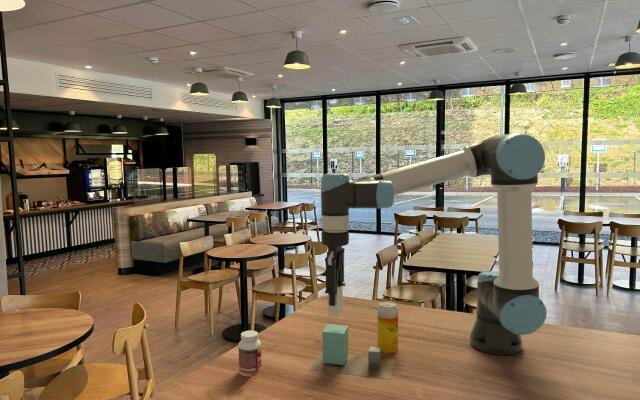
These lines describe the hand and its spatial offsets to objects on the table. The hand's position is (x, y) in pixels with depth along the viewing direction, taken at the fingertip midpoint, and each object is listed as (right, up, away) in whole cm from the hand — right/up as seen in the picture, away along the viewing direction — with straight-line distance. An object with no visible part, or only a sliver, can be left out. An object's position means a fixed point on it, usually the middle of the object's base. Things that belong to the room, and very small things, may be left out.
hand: (335, 312), depth 131 cm
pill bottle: (-23, -16, -1) cm, 29 cm away
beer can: (+16, -15, +11) cm, 24 cm away
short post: (+11, -15, -1) cm, 18 cm away
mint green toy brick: (0, -13, +2) cm, 14 cm away
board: (+5, -16, +1) cm, 17 cm away
